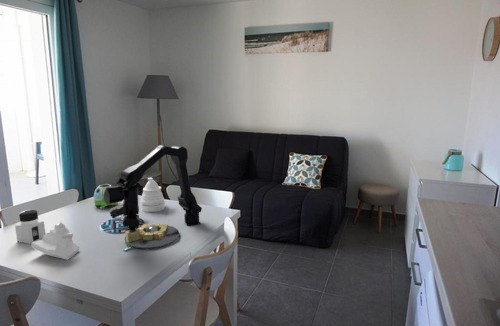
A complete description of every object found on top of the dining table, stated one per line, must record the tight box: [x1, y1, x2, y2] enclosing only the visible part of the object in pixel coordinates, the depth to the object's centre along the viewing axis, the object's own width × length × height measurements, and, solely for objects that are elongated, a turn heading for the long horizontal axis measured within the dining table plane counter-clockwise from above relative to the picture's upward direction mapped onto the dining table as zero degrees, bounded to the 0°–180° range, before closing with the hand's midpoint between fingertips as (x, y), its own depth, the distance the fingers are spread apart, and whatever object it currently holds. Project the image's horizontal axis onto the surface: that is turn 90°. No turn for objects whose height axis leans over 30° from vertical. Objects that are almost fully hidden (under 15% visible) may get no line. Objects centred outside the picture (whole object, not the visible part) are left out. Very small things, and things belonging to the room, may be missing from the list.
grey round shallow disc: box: [123, 224, 180, 253], centre depth 145 cm, size 23×23×5 cm
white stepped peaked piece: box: [30, 221, 80, 261], centre depth 130 cm, size 12×15×14 cm
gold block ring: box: [124, 223, 169, 243], centre depth 144 cm, size 19×15×4 cm
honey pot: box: [140, 177, 166, 213], centre depth 184 cm, size 13×13×18 cm
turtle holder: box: [93, 183, 119, 210], centre depth 188 cm, size 12×18×12 cm
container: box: [14, 209, 46, 245], centre depth 143 cm, size 8×8×13 cm
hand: (132, 233), depth 142 cm, fingers closed
